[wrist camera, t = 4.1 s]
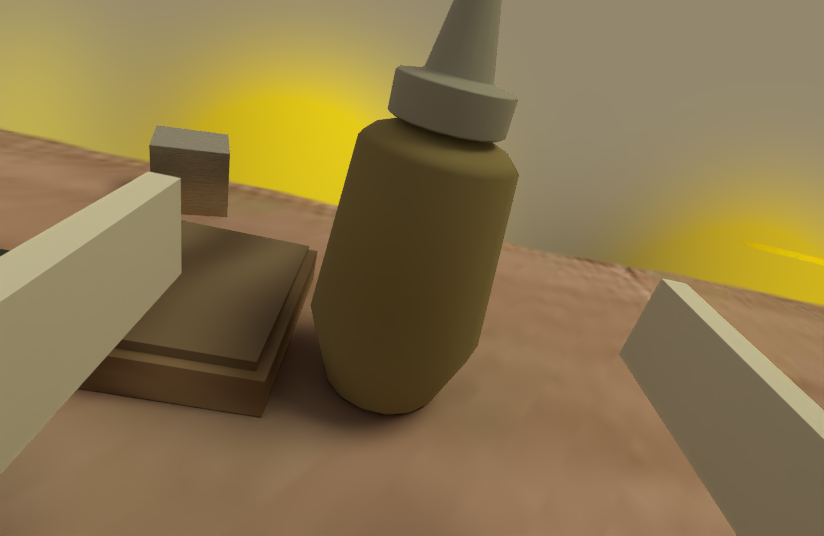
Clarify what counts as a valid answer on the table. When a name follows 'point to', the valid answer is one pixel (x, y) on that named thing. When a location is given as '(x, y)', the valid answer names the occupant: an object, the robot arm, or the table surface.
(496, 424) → the table surface
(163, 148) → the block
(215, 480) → the table surface
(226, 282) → the stand
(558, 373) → the table surface
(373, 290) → the squeeze bottle
